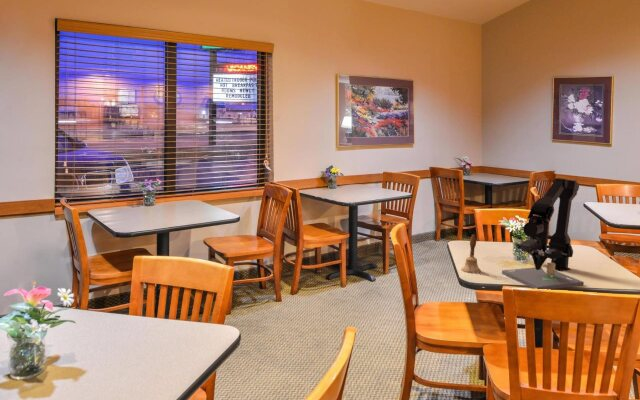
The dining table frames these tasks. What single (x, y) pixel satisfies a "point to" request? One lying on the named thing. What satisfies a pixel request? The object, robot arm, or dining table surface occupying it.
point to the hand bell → (471, 259)
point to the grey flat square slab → (542, 278)
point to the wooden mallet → (549, 269)
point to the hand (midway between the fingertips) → (537, 269)
